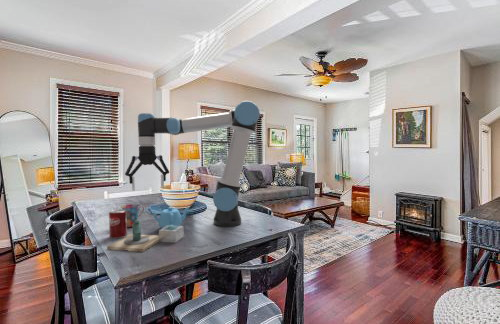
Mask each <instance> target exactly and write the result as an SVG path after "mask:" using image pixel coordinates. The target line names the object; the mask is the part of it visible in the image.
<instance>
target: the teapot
mask: <svg viewBox="0 0 500 324" xmlns="http://www.w3.org/2000/svg"><path fill="white" fill-rule="evenodd" d="M188 209H190V206H189V207H185V208H184V210H183V214H181V213H180V211H179V209H177V208H173V207H172V206H171V207H170V206H169V207H168V208H167V209H162V211H161V212H159V211H158V212H157V211H156V212H153V217H154V219H155V220H156V221H157V223H158V225H159V228H160V229H162V228H164V227H165V226H167V225H173V226H183V225H182V224H183V222H184V220H185V219H186V216H187V213H188ZM158 215H159V217H158Z"/></svg>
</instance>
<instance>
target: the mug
mask: <svg viewBox="0 0 500 324" xmlns="http://www.w3.org/2000/svg"><path fill="white" fill-rule="evenodd" d="M141 208H142V210H141V212H140V214H139V211H140V209H141ZM121 209H123V210H126V212H127V228H132V224H134V220H139V223H140V224H141V221H140V218H139V217H140V216H142V214H143V212H144V209H145V207H144V206H142V205H141V204H139V203H134V204H133V203H132V204H131V203H130V204H124V205H122V206H121Z"/></svg>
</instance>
